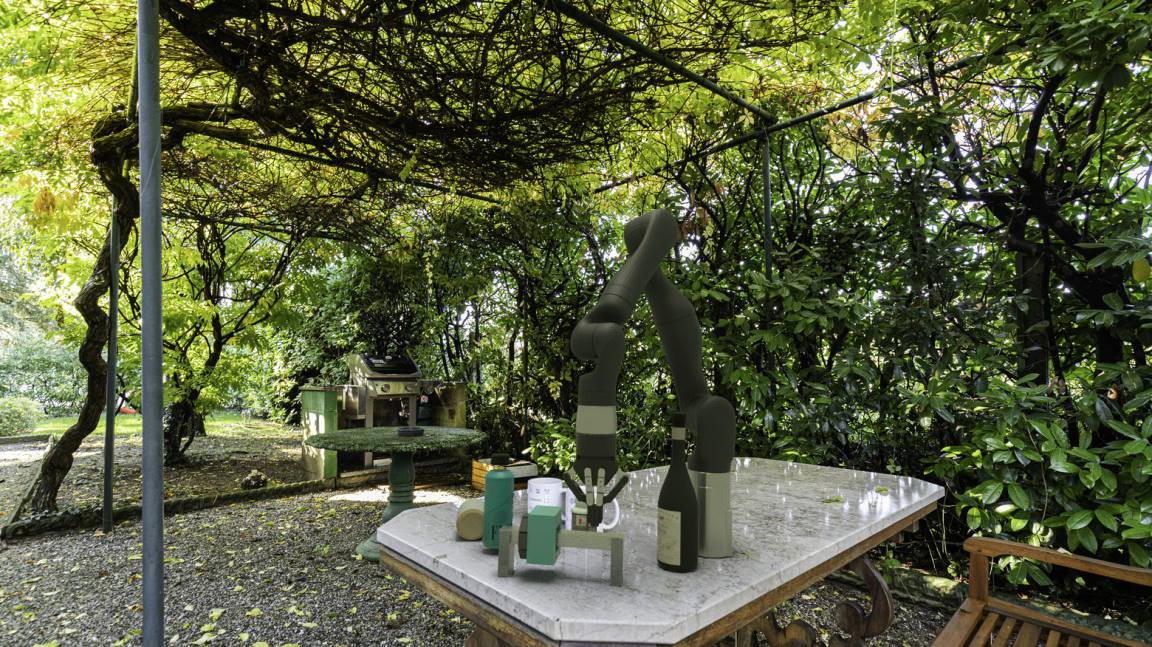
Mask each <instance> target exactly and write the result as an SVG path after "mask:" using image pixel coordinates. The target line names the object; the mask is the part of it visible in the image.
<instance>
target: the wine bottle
mask: <svg viewBox="0 0 1152 647" xmlns="http://www.w3.org/2000/svg"><path fill="white" fill-rule="evenodd" d="M670 418H671V419H670V420H671V459H670V464H669V467H668V471H667V473H666V476H665V478H664V480H663V483H662V486H661V489H660V490H659V491H660V492H659V495H658V499H657V511H656V512H657V514H656V515H657V519H656V520H657V521H656V523H657V525H656V526H657V528H656V562H657V564H658V566H660V567H662V569H665V570H668V571H671V572H678V573H679V572H689V571H692V570H694V569H696V568H697V566H698V564H699V555H698V502H697V497H696V493H695V490H694V487H693V484H692V482H691V479H690V476H689V473H688V470H687V461H686V460H687V459H686V426H685V424H686V413H681V412H671V415H670Z"/></svg>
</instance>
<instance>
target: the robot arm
mask: <svg viewBox="0 0 1152 647" xmlns="http://www.w3.org/2000/svg"><path fill="white" fill-rule="evenodd" d="M679 230H680V228H679V224H678V222H677V219H676V218H675V216H674V214H672V212H670V211H669V210H667V209H666V208H656V209H653V210H649V211H648V212H646V213H643V214H641V215H639V216H636V217H635V218H632V219H631V220H629V221H628V222H626V224H624V228H623V234H622V235H623V240H624V245H625V248H626V250H627V251H626V252H627V253H628V255H629V258H628V259H627V260H626V262H624V264H623V265H621V267H620V268H618V270H617V271H616V272H615V274H614V275H613V276H612V277H611V279H610V280H609V281H608V283H607V284H606V286H605V288H604V290H603V292H602V294H601V296H600V297H599V299H598V302H597V303H596V304H595V305H594V306H593V307H592V308H591V309H590V310H588V312H587V313H586V314H585V315H584V316H583V317H582V318H581V319H580V320H579V321H578V323H577V324H576V326H575V327H574V329H573V330H572V333H571V337H570V349H571V351H572V354H573V355H574V356H575V357H576V358H577V359H579V360H581V361H582V360H583V361H597V363H596V366H595V369H594V370H593V371H591V372H589V373H584V374H583V375H581V376H580V377H579V379H578V390H577V391H578V394H577V396H578V397H577V398H578V399H577V401H578V402H577V413H576V422H575V423H576V424H575V430H576V431H575V435H576V436H575V459H574V461H573V463H572V467H571V468H570V469H569V470H566V471H564V472H563V473H562V475H561V479H562V480H563V482H564V483H565V484H566V485H567V487H568V489H569V490H570V491H571V493H572V494H573V495H574V497H576V498H577V500H578V501H579V502H584V503H586V504H587V521H588V523H591V526H592V527H594V526H595V527H597V528H598V527H599V526H600V524H602V523H603V520H604V505H607V504H611V503H612V502H613V501H614V499H615V498H616V497H617V496H618V494H620V492H621V491H622V490H623V489H624V488H625V486H626V485H627V483H628V482H629V481H630V475H629V474H628V473H626V472H624V471H622V470H621V469H620V466H619V462H618V460H617V437H618V436H617V433H618V431H617V430H618V427H617V426H618V419H617V417H618V416H617V409H616V408H617V407H616V405H617V404H616V403H617V402H616V401H617V400H616V398H617V395H616V394H617V392H616V391H617V382H618V378H619V374H620V371H621V368H622V367H621V365H622V363H623V359H624V356H625V354H626V345H627V342H626V335H625V333H624V330H623V328H622V326H624V325H626V324H627V322H629V320H630V318H631V316H632V314H633V312H634V310H635V308H636V305H637V303H638V301H639V300H640V297H641V296H642V294H643V292H644V295H645V298H646V300H647V303H648V306H649V309H650V312H651V315H652V318H653V319H652V320H653V322H654V325H655V329H656V331H657V335H658V338H659V341H660V344H661V346H662V348H663V353H664V355H665V358H666V362H667V364H668V365H667V366H668V367H669V370H670V371H669V372H670V373H671V377H672V379H673V383H674V387H675V392H676V396H677V401H678V405H679V410H680V413H686V424H685V429H687V430H688V432H690V433H692V434H693V435H695V447H694V450H693V452H692V453H690V454H689V455H688V456H687V459H686V460H687V461H686V466H687V470H688V473H689V476H690V479H691V482H692V484H693V487H694V490H695V493H696V497H697V502H698V557H704V558H724V557H725V558H726V557H733V510H732V508H731V504H732V503H731V502H732V500H731V499H732V497H731V494H732V492H731V490H732V489H731V486H732V485H731V484H732V483H731V481H732V480H731V478H732V474H731V470H732V462H733V460H734V458H735V454H736V453H735V451H736V438H737V437H736V434H737V431H736V430H737V419H736V417H737V416H736V413H735V412H736V411H735V408H734V407H733V404H731V402H730V401H729V400H728V399H726V398H724V397H722V396H717V395H712V394H711V392H710V390H709V389H710V388H708V384H707V382H706V379H705V376H704V371H703V365H702V364H703V361H702V360H703V359H702V358H703V333H702V328H701V326H700V322H699V319H698V316H697V314H696V309H695V308H694V305H693V304H692V303H691V302H692V301H690V299H688V297H687V296H686V295H684V293H683V292H682V291H680V290H679V289H678V288H677V287H676V286H675V285H674V284H673V283H672V282H671V281H670V279H668V277H667V276H666V275H665V272H664V271H663V269H662V266H661V264H662V262H663V261H664V260H665V258H666V257H667V256H668V255H669V253H670V252H671V250H672V249H673V248H674V247H675V245H676V243H677V241H678V239H679V233H680V232H679ZM615 475H616V478H615V482H616V483H615V485H614V486H613V488H612V489H611V490H610V491H609V493H607V494H605V490H606V486H607V485H608V484H609V483H610V482H611V480H612V479H613V478H614V477H615ZM577 477H578V478H579V479H580V481H581V483H582V484H583V485H584V486H585V491H583V489H582V487H580V485H579V484H578V482H577V481H576V479H577ZM595 487H596V496H595Z"/></svg>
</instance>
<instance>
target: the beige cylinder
mask: <svg viewBox="0 0 1152 647" xmlns="http://www.w3.org/2000/svg"><path fill="white" fill-rule="evenodd" d="M456 513H457V514H456V519H455V526H456V531H457V533H458V535H459V536H460V537H461V538H463V539H464V540H467V541H476V540H478V539H480V538H483V534H482V533H483V517H484V500H481V499H479V498H476V497H475V498H467V499H466V500H465V501H462V503H461V504H460V505H459V507H458V509H457V511H456Z"/></svg>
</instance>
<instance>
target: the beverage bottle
mask: <svg viewBox="0 0 1152 647" xmlns="http://www.w3.org/2000/svg"><path fill="white" fill-rule="evenodd" d="M510 457H511V456H510V454H509V453H504V452H503V453H501V452H498V453H491V456H490V461H489V462H490V465H493V466H508V465H510V464H511V460H510V459H511V458H510ZM515 489H516V488H515V474H514V473H513V472H512V471H511V470H510V469H506V468H492V469H490V470H489V471H487V472H486V473H485V475H484V495H483V496H484V498H483V499H484V500H483V502H484V517H483V533H482V534H483V536H482V537H481V539H482V545H483V547H484V548H485V547H486V548H490V549H499V532H500V528H501V527H502V526H514V499H515Z"/></svg>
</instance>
